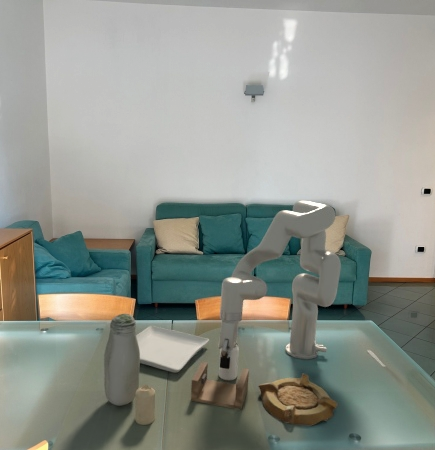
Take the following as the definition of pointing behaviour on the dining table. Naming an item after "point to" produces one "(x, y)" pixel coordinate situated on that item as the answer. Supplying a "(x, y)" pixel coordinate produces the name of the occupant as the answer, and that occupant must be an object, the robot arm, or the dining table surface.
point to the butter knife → (375, 357)
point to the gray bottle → (121, 361)
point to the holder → (219, 389)
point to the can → (232, 371)
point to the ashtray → (297, 401)
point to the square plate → (168, 348)
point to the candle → (145, 405)
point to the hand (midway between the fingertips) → (227, 361)
